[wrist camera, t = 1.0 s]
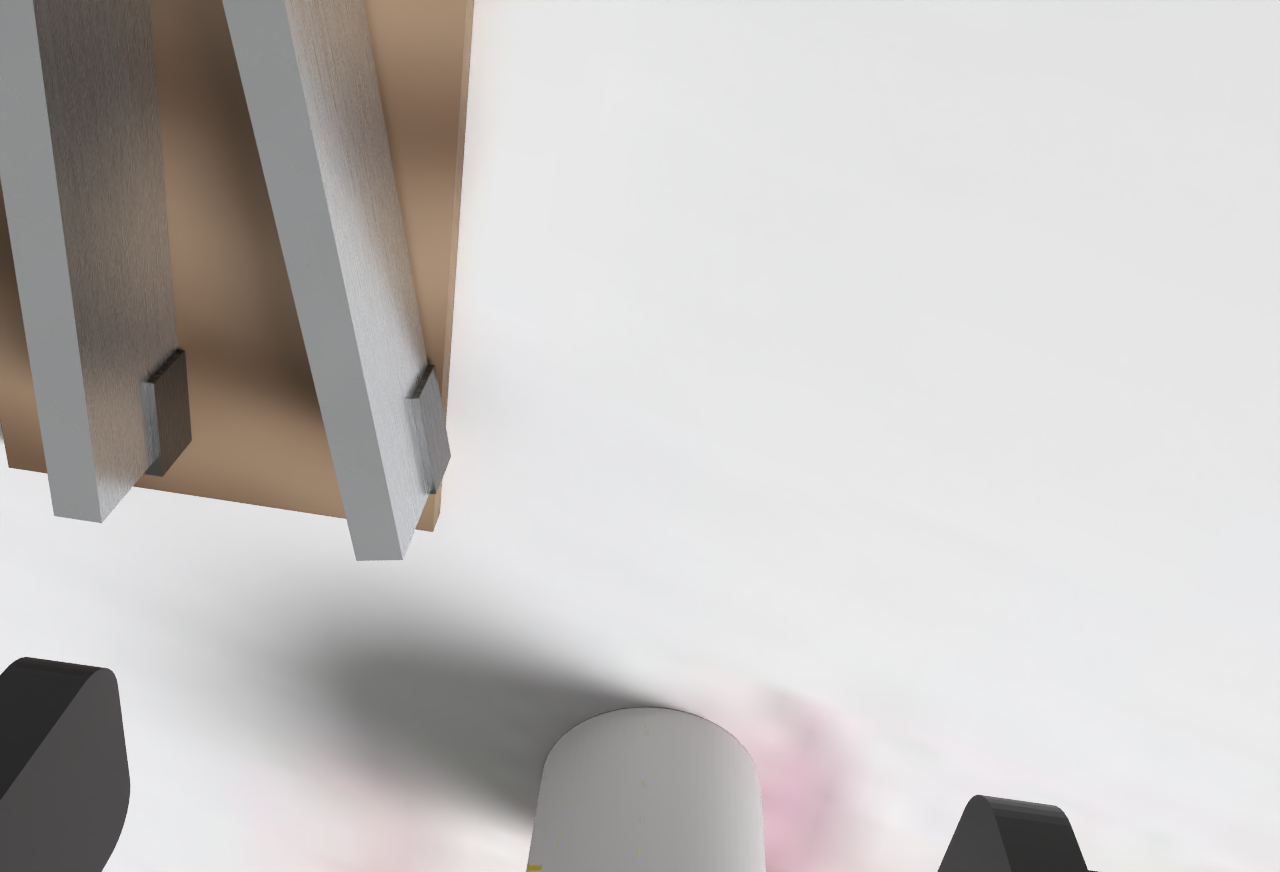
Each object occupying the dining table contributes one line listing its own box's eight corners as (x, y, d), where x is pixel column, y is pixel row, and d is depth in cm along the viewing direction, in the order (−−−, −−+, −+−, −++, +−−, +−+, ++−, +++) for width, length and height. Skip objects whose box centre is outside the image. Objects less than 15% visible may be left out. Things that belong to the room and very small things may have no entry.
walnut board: (-170, -708, 20) (-208, -731, 19) (512, -580, 21) (504, -597, 20) (26, 450, 33) (8, 467, 32) (439, 513, 34) (433, 531, 33)
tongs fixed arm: (24, -651, 20) (-218, -815, 14) (235, -612, 20) (70, -761, 15) (137, 432, 32) (27, 553, 26) (269, 452, 32) (185, 577, 27)
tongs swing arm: (223, -396, 21) (102, -448, 17) (301, -402, 21) (199, -456, 17) (397, 457, 31) (348, 560, 27) (451, 456, 31) (410, 559, 27)
